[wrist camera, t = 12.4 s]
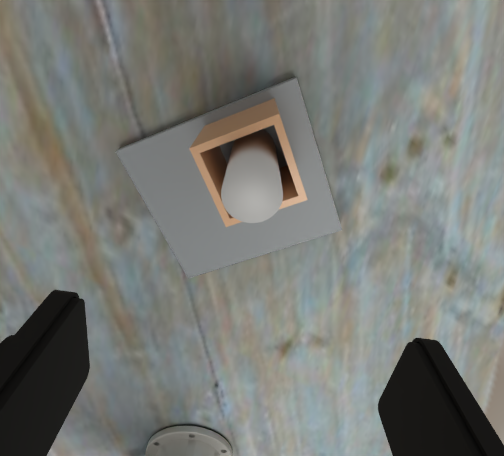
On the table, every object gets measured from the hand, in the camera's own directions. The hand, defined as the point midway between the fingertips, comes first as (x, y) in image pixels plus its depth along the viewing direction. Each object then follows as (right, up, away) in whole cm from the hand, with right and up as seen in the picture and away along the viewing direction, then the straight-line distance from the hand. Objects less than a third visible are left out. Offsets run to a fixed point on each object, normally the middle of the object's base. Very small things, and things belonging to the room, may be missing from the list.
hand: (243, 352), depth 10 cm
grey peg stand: (-1, +7, +22) cm, 23 cm away
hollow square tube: (0, +10, +19) cm, 21 cm away
